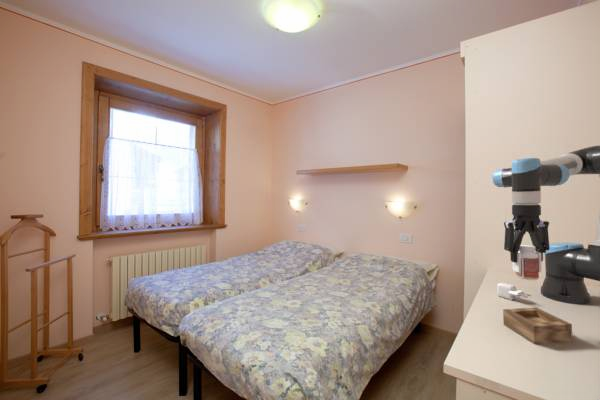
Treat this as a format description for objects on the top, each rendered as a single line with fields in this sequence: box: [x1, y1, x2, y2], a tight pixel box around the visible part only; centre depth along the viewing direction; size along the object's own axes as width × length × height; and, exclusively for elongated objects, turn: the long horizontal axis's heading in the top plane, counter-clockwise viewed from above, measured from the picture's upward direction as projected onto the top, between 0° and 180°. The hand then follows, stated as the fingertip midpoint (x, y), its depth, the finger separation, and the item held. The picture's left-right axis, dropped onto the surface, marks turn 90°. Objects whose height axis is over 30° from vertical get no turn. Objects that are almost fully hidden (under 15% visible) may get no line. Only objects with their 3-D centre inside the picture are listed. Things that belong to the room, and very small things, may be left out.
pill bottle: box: [514, 244, 540, 281], centre depth 91 cm, size 6×6×11 cm
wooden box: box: [502, 307, 573, 345], centre depth 88 cm, size 12×12×6 cm
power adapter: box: [496, 282, 532, 301], centre depth 113 cm, size 11×5×6 cm, turn 25°
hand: (526, 271), depth 91 cm, fingers closed on pill bottle, 6 cm apart
